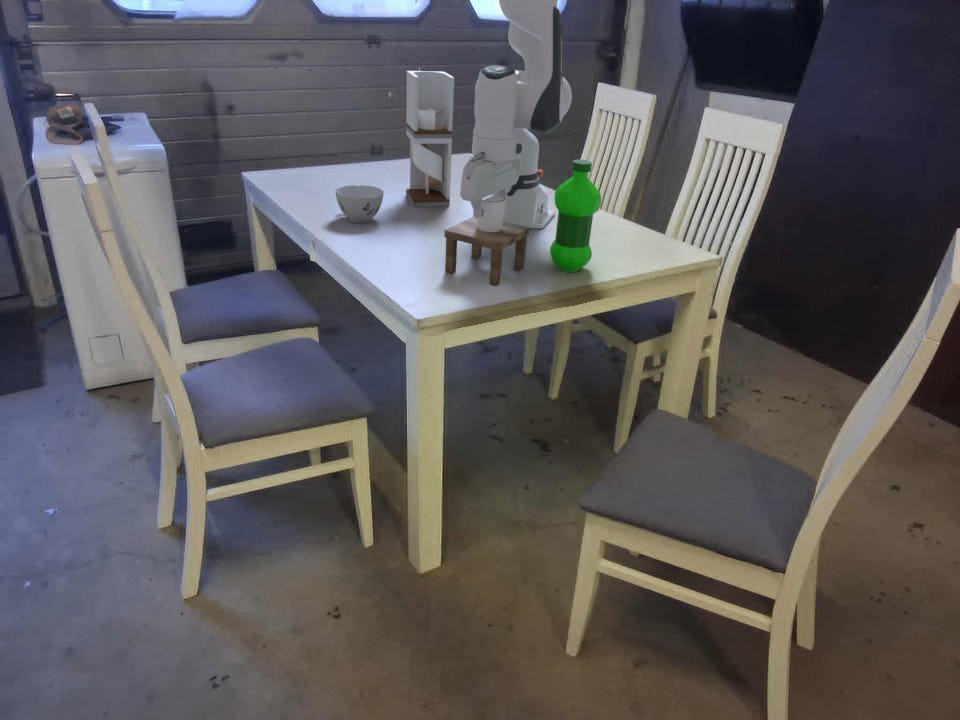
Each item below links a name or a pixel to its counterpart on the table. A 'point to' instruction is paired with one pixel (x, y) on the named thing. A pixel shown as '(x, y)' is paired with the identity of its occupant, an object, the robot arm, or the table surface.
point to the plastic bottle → (575, 218)
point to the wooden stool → (486, 245)
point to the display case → (429, 136)
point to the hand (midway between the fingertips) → (488, 212)
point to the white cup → (492, 213)
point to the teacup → (359, 201)
